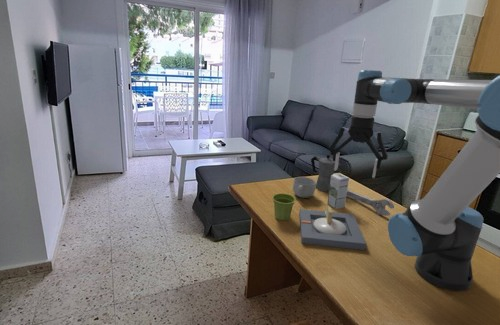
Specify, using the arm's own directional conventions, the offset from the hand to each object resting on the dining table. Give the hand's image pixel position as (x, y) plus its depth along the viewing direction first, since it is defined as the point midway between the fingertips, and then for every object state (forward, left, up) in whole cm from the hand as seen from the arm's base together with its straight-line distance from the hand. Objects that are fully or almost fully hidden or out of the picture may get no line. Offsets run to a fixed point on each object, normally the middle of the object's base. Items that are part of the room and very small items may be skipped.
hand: (354, 173), depth 112 cm
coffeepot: (+40, +5, -23) cm, 46 cm away
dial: (-4, +7, -22) cm, 23 cm away
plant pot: (+3, +25, -23) cm, 34 cm away
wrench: (+22, -12, -23) cm, 34 cm away
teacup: (+26, +16, -23) cm, 38 cm away
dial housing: (-4, +7, -23) cm, 24 cm away
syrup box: (+19, +1, -23) cm, 30 cm away
